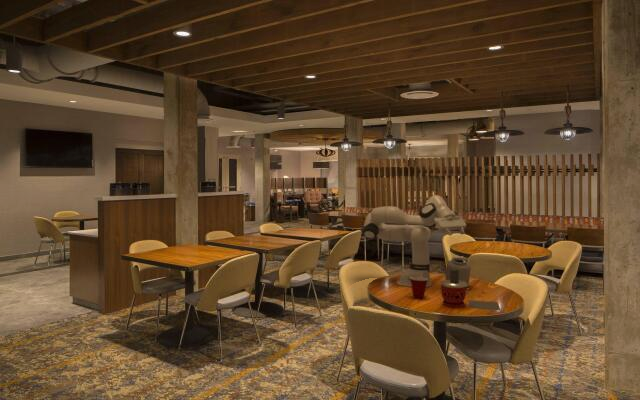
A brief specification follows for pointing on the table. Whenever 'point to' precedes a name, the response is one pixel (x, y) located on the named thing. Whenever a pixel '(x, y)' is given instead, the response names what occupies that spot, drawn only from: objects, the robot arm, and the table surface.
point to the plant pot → (453, 296)
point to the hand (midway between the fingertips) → (457, 234)
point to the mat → (484, 305)
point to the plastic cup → (418, 286)
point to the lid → (454, 280)
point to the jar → (461, 266)
